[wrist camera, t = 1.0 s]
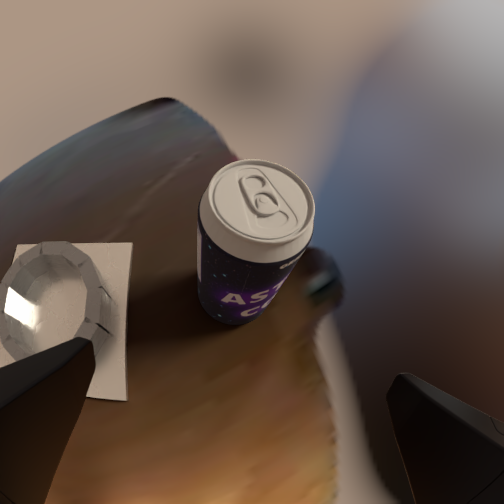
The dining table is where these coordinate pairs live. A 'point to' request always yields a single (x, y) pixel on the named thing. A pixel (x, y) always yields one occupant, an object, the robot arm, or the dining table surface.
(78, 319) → the collar seat
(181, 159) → the dining table surface
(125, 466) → the dining table surface
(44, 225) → the dining table surface
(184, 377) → the dining table surface
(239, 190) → the beverage can
